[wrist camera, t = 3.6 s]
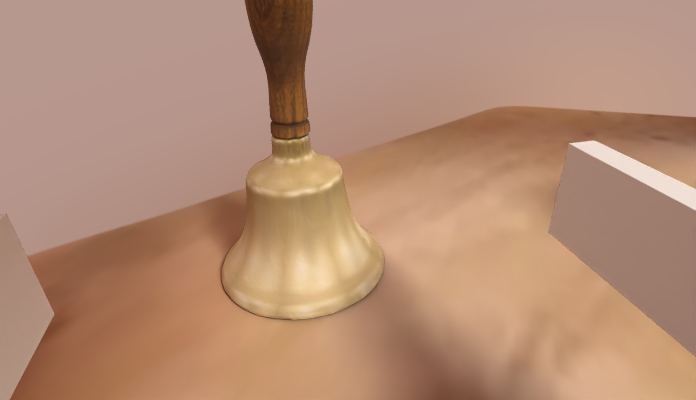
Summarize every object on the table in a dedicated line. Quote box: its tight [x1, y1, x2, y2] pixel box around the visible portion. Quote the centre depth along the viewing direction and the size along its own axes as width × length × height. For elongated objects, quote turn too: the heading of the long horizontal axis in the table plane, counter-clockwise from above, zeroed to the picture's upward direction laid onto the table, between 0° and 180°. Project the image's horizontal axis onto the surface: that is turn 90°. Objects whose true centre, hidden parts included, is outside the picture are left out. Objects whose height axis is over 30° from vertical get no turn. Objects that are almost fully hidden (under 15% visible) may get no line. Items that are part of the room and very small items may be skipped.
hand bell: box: [221, 0, 385, 320], centre depth 18 cm, size 8×8×16 cm
